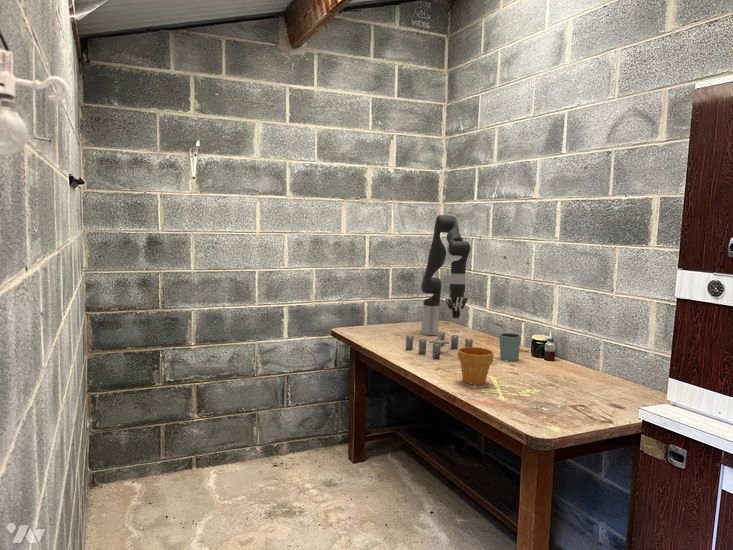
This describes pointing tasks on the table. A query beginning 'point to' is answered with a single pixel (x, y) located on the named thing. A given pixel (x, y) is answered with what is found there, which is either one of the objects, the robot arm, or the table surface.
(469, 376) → the flower pot
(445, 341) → the pipe connector
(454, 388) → the table surface
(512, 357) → the grey-blue tapered bin
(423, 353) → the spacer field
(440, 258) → the robot arm
